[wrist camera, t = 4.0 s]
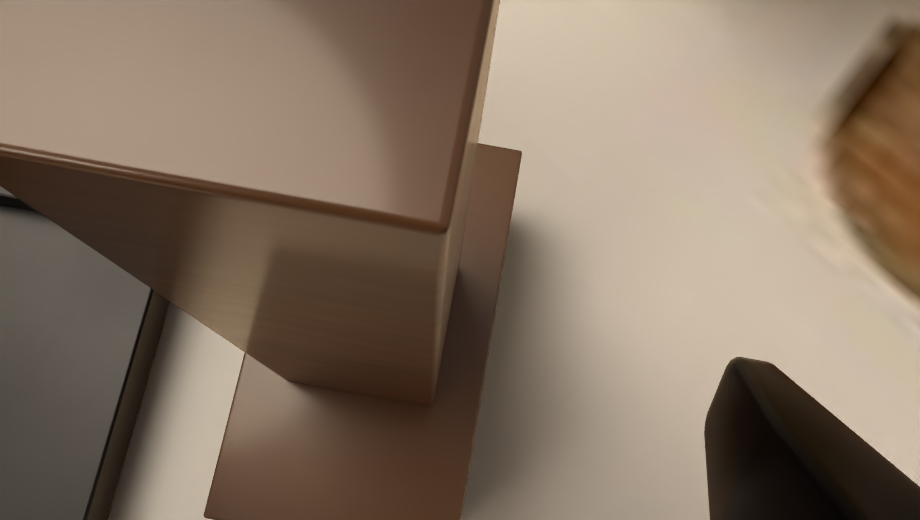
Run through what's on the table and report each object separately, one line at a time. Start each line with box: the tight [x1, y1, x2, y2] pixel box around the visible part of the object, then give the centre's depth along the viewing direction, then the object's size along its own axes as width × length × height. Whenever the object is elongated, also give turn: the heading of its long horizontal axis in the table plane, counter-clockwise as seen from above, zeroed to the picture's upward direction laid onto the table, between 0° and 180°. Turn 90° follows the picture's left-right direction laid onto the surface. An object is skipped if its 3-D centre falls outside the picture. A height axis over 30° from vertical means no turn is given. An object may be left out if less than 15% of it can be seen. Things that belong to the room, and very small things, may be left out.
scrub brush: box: [0, 0, 522, 520], centre depth 11 cm, size 8×4×14 cm, turn 170°
